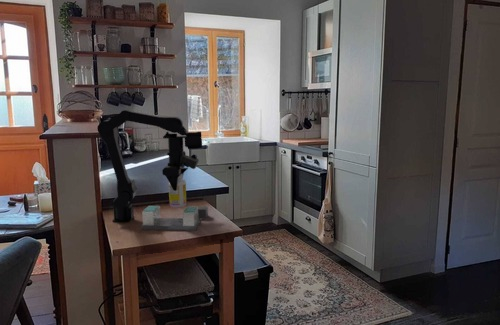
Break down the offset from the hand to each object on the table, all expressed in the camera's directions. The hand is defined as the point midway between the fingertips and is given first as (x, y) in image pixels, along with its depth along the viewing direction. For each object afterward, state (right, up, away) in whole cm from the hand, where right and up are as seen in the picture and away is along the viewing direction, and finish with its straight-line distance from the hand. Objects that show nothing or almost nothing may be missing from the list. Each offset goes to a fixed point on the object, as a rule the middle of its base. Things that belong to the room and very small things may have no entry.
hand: (177, 188), depth 152 cm
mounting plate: (-1, -14, -8) cm, 16 cm away
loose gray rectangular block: (+9, -12, +3) cm, 15 cm away
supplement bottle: (0, -7, +1) cm, 7 cm away
